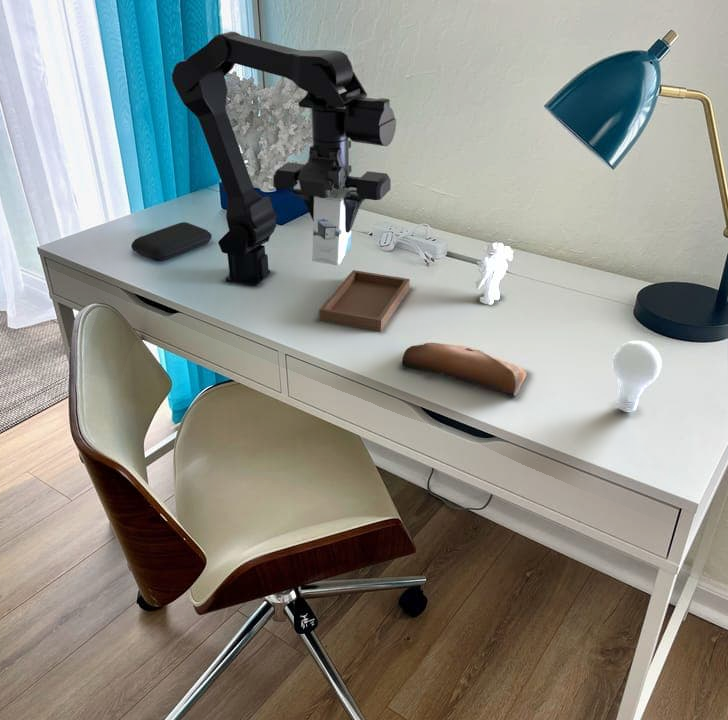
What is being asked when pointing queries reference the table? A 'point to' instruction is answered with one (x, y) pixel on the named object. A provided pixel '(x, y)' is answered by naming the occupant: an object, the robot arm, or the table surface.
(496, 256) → the flower shoulder figurine
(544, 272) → the table surface
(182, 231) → the carrying case
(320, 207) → the ink box
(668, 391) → the table surface
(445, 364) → the sunglasses case
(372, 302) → the desk tray
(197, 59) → the robot arm
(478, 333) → the table surface
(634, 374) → the lightbulb
